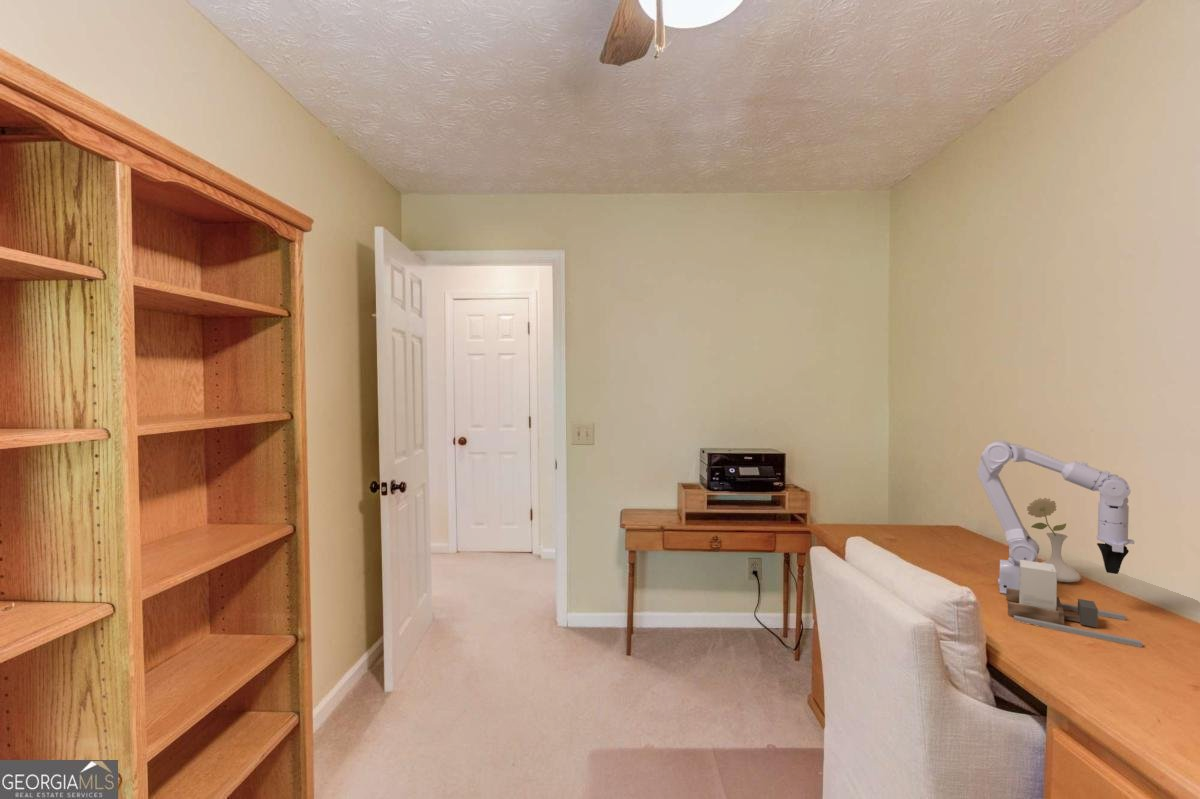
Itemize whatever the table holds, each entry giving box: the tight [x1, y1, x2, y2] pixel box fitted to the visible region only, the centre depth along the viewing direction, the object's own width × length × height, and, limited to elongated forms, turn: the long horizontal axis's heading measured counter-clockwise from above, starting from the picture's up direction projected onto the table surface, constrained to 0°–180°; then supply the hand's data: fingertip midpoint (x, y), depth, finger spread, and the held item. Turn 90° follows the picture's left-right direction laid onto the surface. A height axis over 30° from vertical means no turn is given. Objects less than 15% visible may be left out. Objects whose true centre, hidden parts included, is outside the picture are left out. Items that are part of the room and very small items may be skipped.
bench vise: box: [1005, 588, 1099, 628], centre depth 137 cm, size 18×13×4 cm
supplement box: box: [1018, 560, 1058, 611], centre depth 139 cm, size 7×7×13 cm
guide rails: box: [1013, 602, 1143, 648], centre depth 134 cm, size 23×19×1 cm
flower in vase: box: [1026, 497, 1082, 583], centre depth 163 cm, size 13×11×25 cm
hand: (1111, 572), depth 139 cm, fingers closed
